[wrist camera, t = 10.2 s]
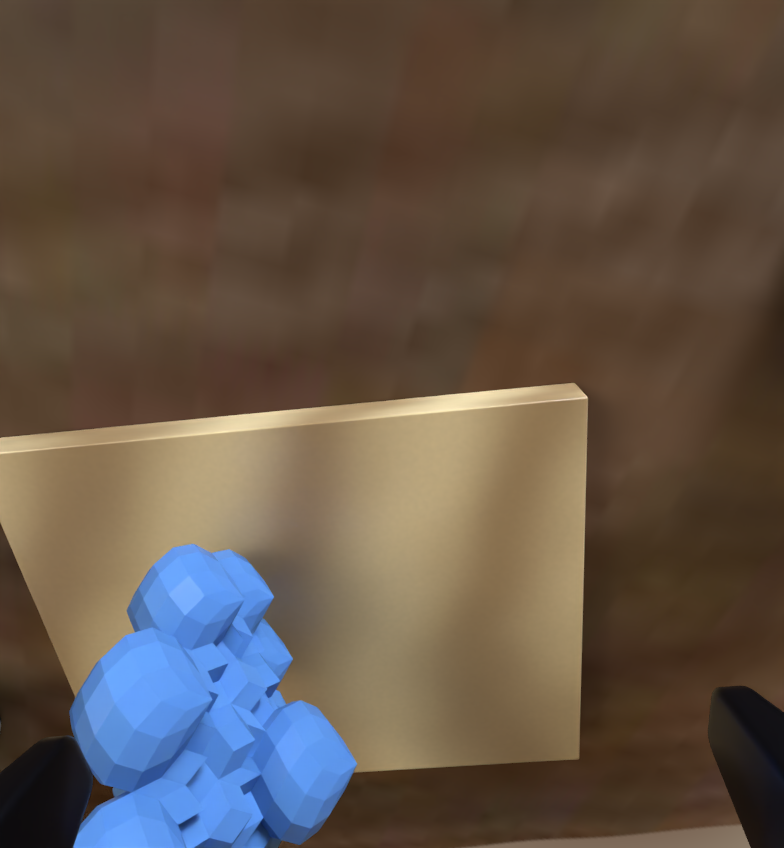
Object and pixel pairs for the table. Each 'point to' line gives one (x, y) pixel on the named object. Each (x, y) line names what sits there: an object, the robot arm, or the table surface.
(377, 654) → the board
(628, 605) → the table surface
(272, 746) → the grapes
